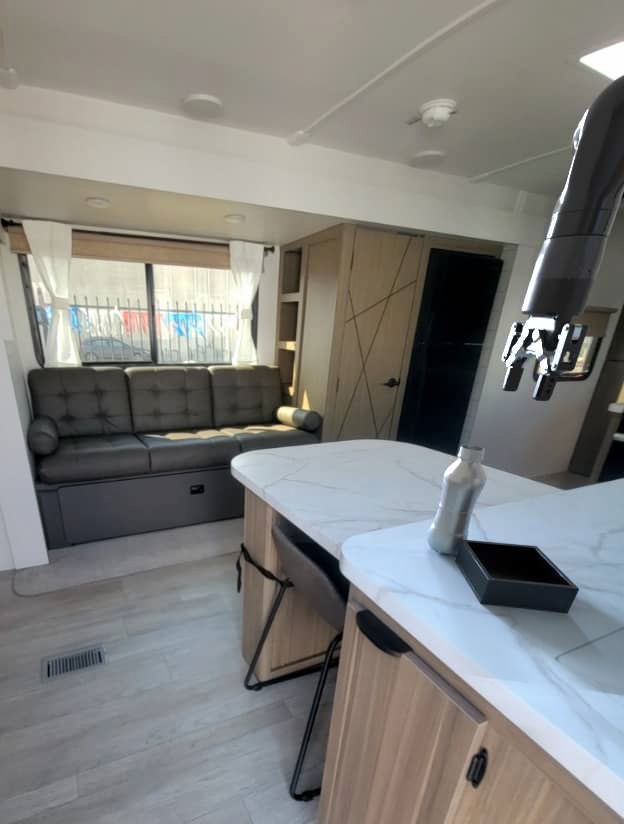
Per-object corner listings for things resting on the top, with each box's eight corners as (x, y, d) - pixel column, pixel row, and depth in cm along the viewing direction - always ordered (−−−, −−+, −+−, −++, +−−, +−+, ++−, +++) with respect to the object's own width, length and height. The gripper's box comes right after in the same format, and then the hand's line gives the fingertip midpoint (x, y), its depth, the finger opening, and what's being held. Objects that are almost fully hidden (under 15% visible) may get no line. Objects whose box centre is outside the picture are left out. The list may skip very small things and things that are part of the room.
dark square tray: (528, 567, 72) (536, 545, 70) (567, 613, 61) (579, 589, 59) (454, 560, 73) (461, 539, 71) (480, 603, 62) (488, 579, 60)
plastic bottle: (428, 537, 81) (454, 439, 72) (466, 548, 78) (497, 447, 69) (420, 550, 76) (447, 448, 67) (460, 562, 73) (493, 456, 64)
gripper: (631, 273, 50) (579, 405, 58) (556, 282, 63) (521, 389, 70) (569, 272, 51) (525, 403, 58) (507, 280, 63) (478, 387, 71)
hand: (523, 395), depth 64 cm, fingers open, 8 cm apart
